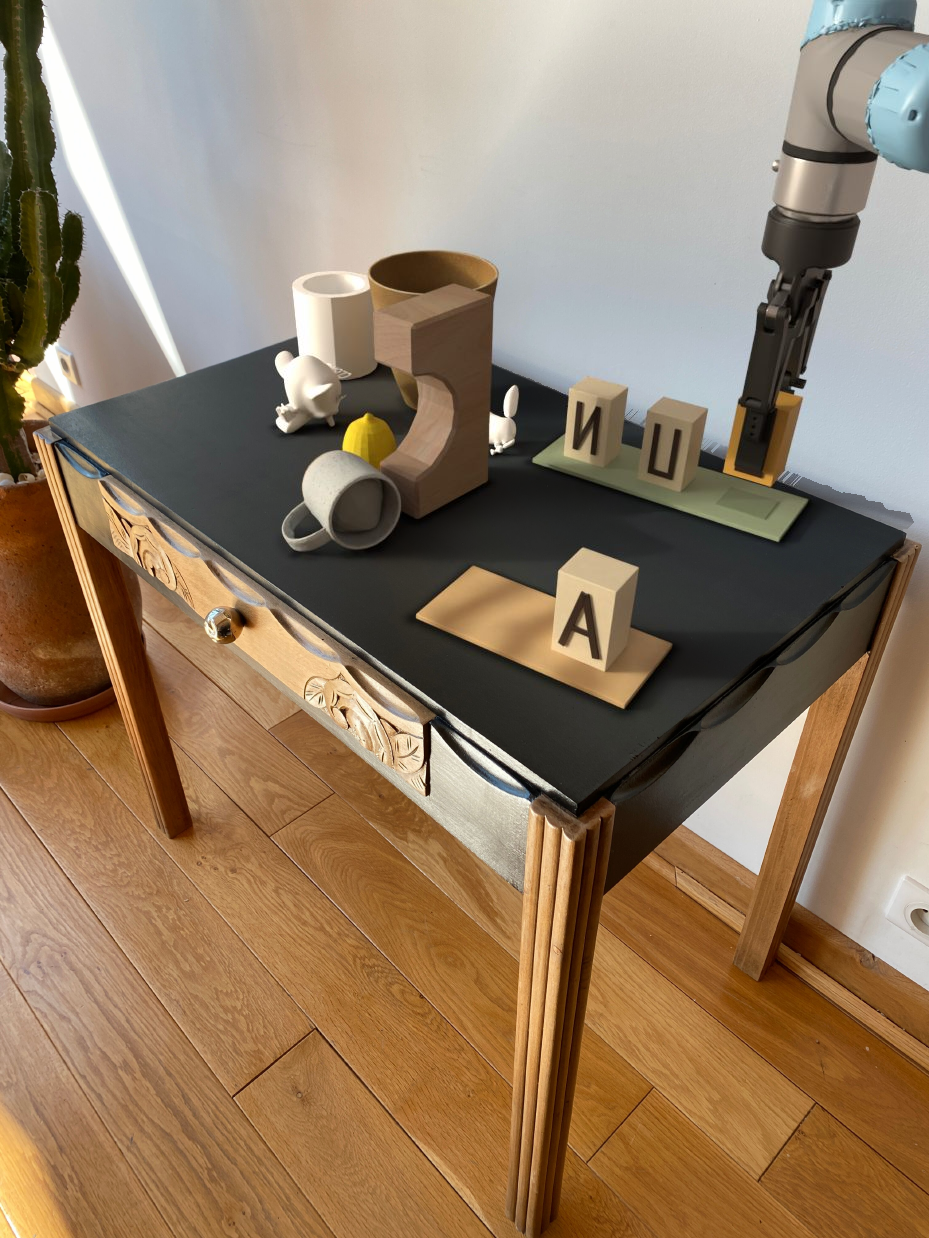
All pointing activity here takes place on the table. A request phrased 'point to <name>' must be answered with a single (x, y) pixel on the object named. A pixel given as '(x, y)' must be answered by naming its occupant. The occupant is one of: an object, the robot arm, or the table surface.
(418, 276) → the plant pot
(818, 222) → the robot arm
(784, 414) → the orange block
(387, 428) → the fruit
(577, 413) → the wooden letter block
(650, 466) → the U tile
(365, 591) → the table surface
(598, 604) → the tile
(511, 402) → the rabbit figurine
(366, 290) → the mug
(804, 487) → the table surface
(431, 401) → the decorative block
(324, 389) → the figurine
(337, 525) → the ceramic mug
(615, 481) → the board
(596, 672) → the front word board
